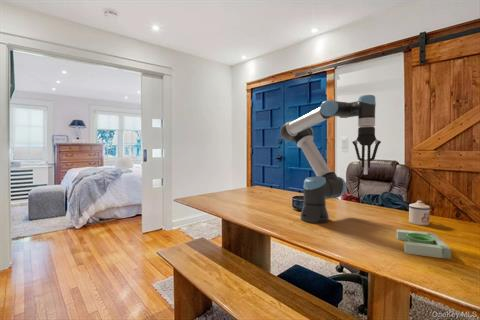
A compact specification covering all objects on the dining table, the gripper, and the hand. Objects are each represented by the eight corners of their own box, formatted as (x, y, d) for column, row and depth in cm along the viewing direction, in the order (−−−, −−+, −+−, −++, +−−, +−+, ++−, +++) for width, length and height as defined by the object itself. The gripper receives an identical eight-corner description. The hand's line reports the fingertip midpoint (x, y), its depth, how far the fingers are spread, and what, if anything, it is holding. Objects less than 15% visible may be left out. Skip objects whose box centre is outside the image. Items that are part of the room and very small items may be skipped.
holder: (405, 253, 93) (405, 244, 93) (396, 237, 110) (396, 229, 110) (450, 259, 88) (451, 249, 88) (433, 241, 105) (434, 233, 105)
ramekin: (434, 254, 93) (435, 242, 93) (405, 248, 98) (406, 237, 98) (434, 246, 100) (434, 235, 100) (407, 241, 105) (407, 231, 105)
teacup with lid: (425, 226, 124) (425, 203, 123) (405, 222, 131) (405, 200, 131) (435, 222, 130) (436, 200, 130) (415, 218, 138) (416, 197, 137)
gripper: (352, 127, 123) (351, 174, 125) (382, 125, 118) (381, 175, 119) (352, 128, 130) (351, 173, 132) (380, 127, 125) (379, 173, 126)
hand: (365, 174), depth 125 cm, fingers closed
